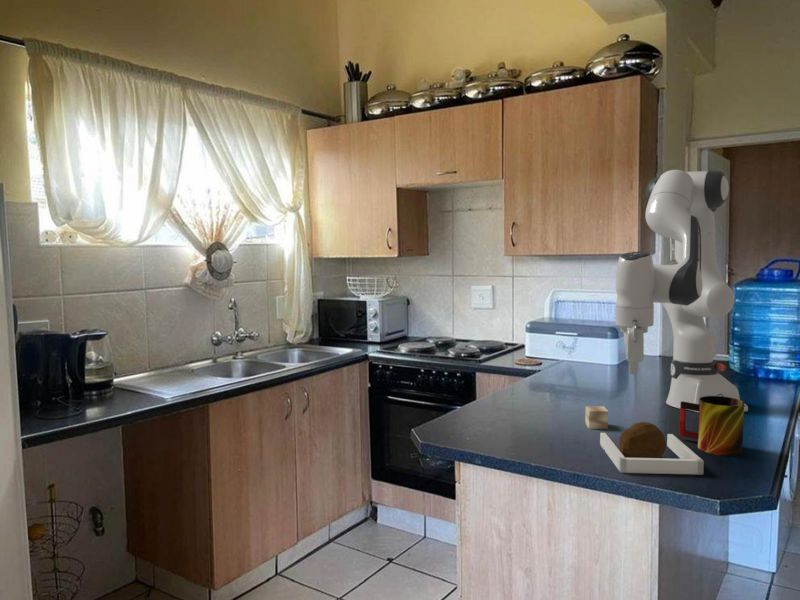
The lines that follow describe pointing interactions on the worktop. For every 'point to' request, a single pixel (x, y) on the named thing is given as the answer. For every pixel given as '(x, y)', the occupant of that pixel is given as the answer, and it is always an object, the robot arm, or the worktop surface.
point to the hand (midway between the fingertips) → (633, 373)
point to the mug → (716, 424)
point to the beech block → (596, 417)
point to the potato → (642, 441)
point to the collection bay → (655, 459)
